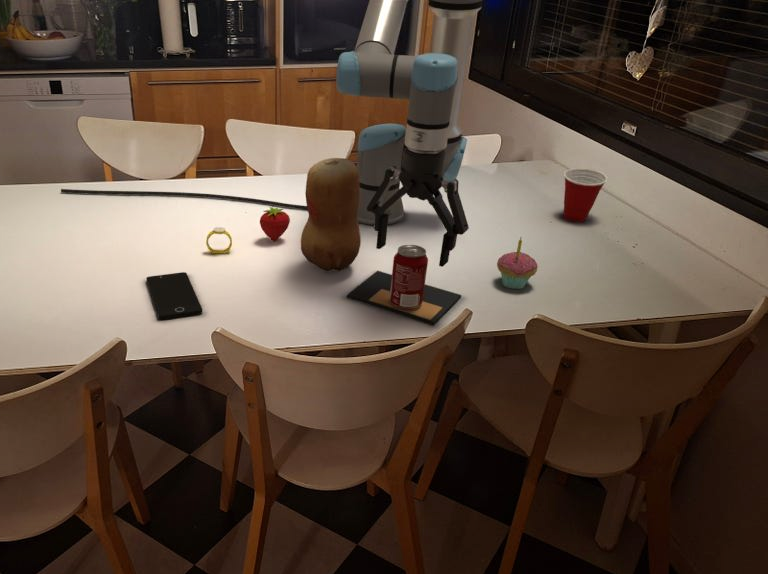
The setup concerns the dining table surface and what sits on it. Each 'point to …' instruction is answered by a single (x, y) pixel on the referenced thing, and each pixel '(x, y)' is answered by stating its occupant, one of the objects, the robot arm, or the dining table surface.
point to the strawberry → (274, 223)
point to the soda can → (408, 277)
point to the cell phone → (173, 295)
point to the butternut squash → (332, 215)
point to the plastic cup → (581, 192)
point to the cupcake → (516, 268)
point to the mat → (378, 295)
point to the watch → (219, 231)
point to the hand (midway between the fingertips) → (411, 255)
